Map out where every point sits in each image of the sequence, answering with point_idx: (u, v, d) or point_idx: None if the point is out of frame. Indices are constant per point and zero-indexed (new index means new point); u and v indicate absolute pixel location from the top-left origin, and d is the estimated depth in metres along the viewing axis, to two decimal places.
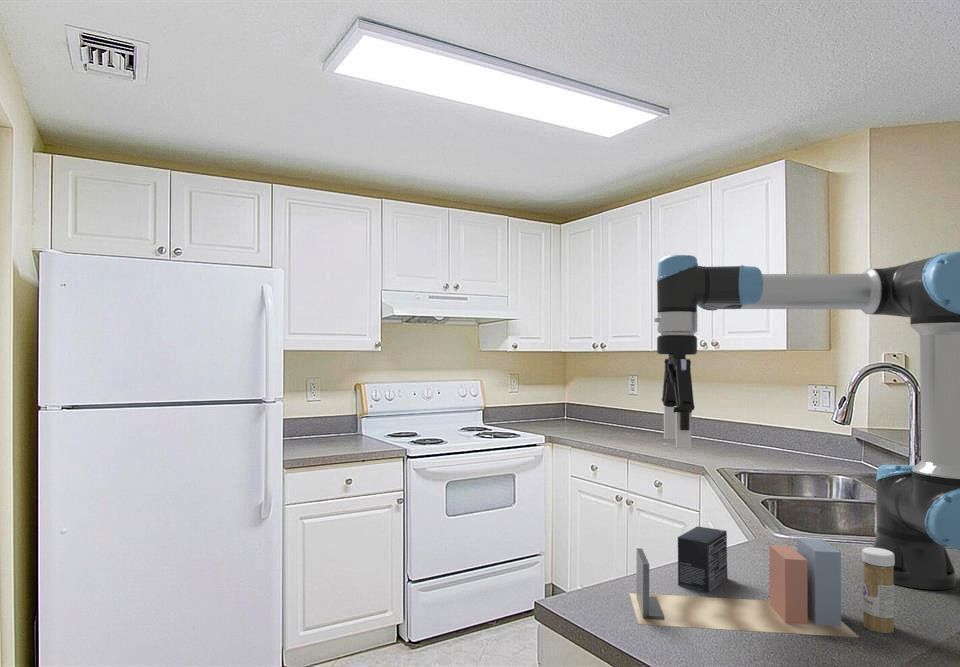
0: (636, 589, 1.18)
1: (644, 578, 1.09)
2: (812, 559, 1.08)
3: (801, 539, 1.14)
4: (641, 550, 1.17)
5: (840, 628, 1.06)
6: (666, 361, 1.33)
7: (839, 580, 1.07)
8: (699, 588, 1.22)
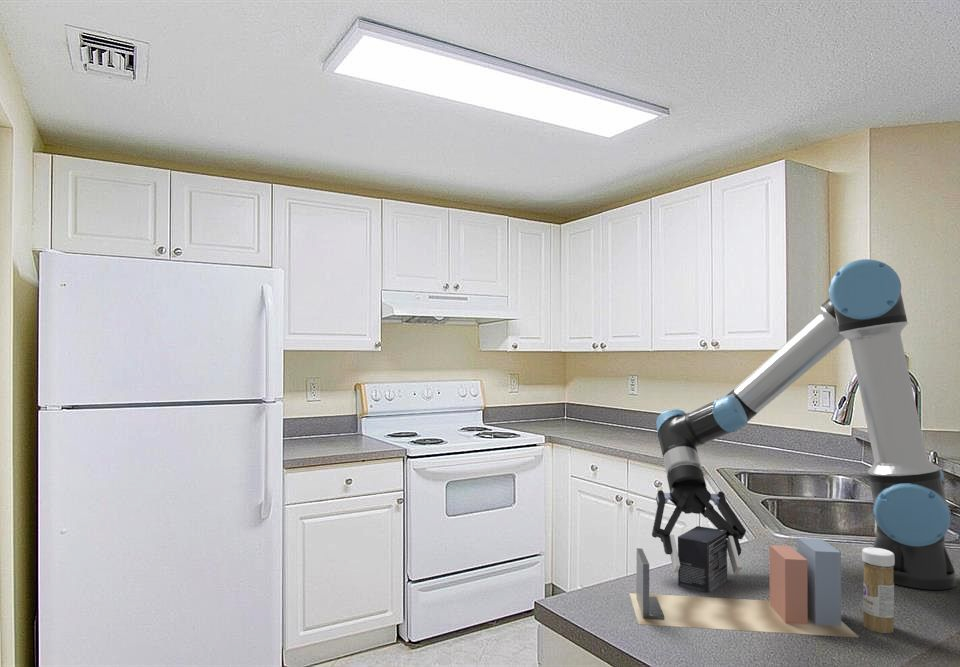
0: (636, 589, 1.18)
1: (644, 578, 1.09)
2: (812, 559, 1.08)
3: (801, 539, 1.14)
4: (641, 550, 1.17)
5: (840, 628, 1.06)
6: None
7: (839, 580, 1.07)
8: (699, 588, 1.22)
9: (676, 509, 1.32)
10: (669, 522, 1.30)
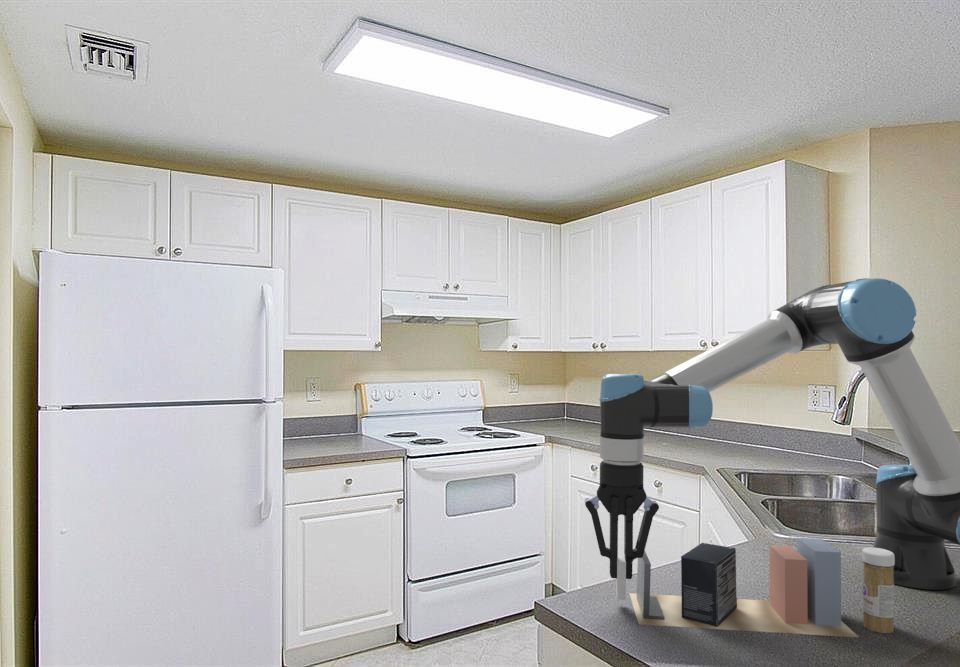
0: None
1: (645, 578, 1.09)
2: (812, 559, 1.08)
3: (801, 539, 1.14)
4: None
5: (840, 628, 1.06)
6: None
7: (839, 580, 1.07)
8: (706, 615, 1.07)
9: (612, 523, 1.13)
10: (612, 543, 1.13)
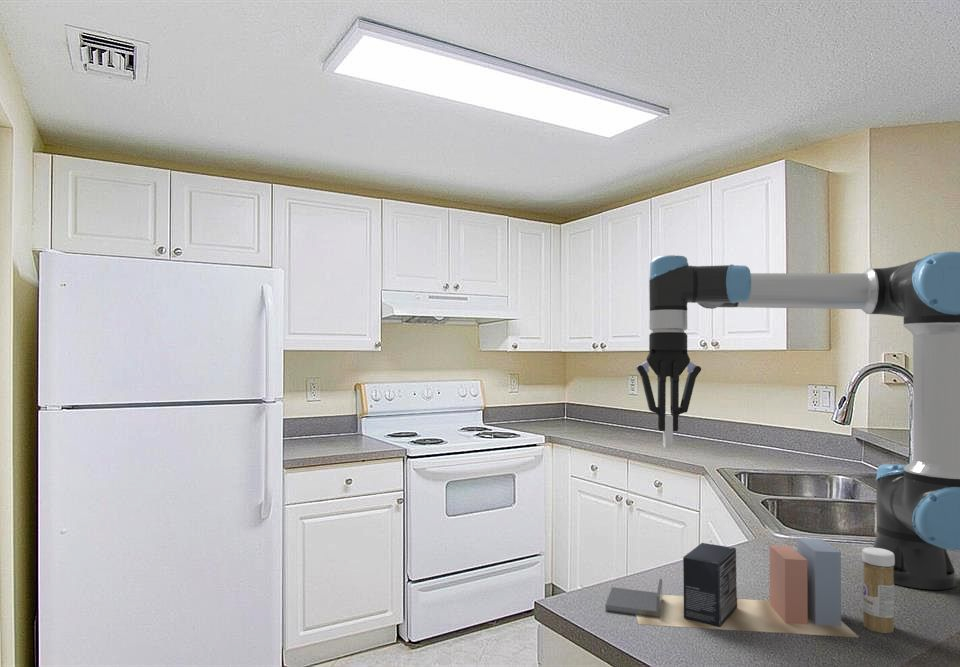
0: None
1: (619, 611, 1.11)
2: (812, 559, 1.08)
3: (801, 539, 1.14)
4: (611, 591, 1.19)
5: (840, 628, 1.06)
6: None
7: (839, 580, 1.07)
8: (709, 616, 1.06)
9: (661, 383, 1.32)
10: (660, 401, 1.32)
